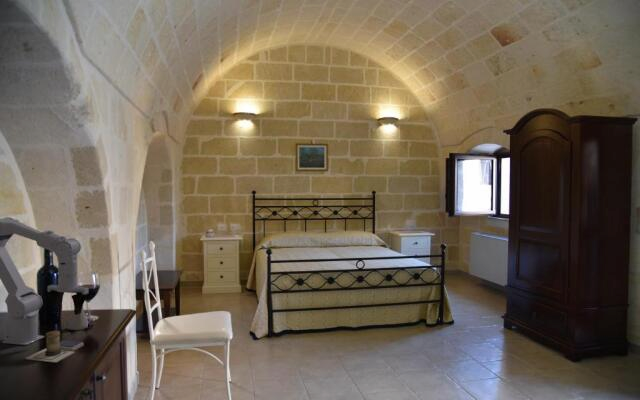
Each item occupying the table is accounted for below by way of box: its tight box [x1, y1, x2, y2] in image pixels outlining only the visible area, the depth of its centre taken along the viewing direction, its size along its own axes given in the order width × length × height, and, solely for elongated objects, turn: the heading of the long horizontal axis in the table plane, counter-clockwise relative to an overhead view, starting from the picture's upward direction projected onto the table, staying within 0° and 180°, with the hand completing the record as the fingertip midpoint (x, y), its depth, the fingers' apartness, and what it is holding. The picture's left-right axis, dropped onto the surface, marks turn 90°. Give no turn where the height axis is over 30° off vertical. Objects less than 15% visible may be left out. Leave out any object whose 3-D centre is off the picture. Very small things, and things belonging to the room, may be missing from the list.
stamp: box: [45, 330, 61, 356], centre depth 141 cm, size 4×4×7 cm
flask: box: [67, 306, 90, 331], centre depth 166 cm, size 7×7×10 cm
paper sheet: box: [24, 348, 75, 363], centre depth 140 cm, size 11×8×1 cm
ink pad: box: [60, 339, 84, 352], centre depth 147 cm, size 8×5×1 cm, turn 80°
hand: (68, 313), depth 151 cm, fingers open, 7 cm apart
